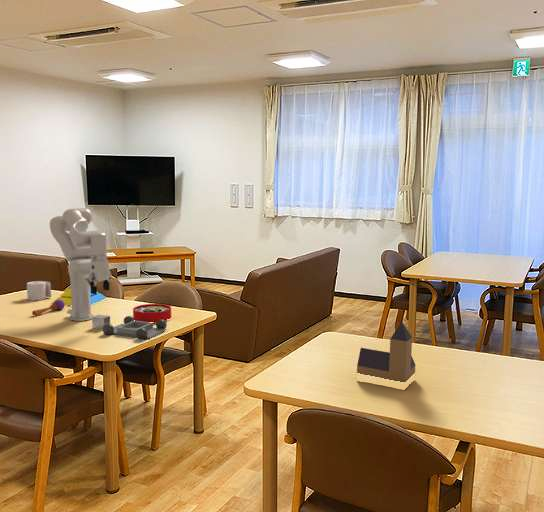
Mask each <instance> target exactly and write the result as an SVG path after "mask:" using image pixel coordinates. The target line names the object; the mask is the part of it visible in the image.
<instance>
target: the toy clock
mask: <svg viewBox="0 0 544 512" xmlns="http://www.w3.org/2000/svg"><path fill="white" fill-rule="evenodd" d="M132 317H133V318H134V320H135V321H142V322H157V321H159V320H167V319H170V318H171V319H172V307H171V305H168V304H164V303H163V304H162V303H148V304H147V303H146V304H145V303H144V304H140V305H137V306H134V307H133V308H132ZM171 319H170V320H171Z"/></svg>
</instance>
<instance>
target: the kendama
mask: <svg viewBox="0 0 544 512" xmlns="http://www.w3.org/2000/svg"><path fill="white" fill-rule="evenodd" d="M55 300H56V299H55ZM55 300H54V301H55ZM54 301H53V302H54ZM53 302H51V303H52V305H51V304H50V306H48V307H45V308H41V309H40V308H39V309H36V310H33V311H32V312H31V315H32V316H33V315H35V316H34V317H37V315H38V316H40V315H41V314H43V313H46V312H47V311H49V310H53V311H61V310H60V309H62V310H63V309H64V308H65V303H64V302H63V301H62V300H56V301H55V302H54V303H53Z"/></svg>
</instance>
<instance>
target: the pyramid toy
mask: <svg viewBox="0 0 544 512" xmlns="http://www.w3.org/2000/svg"><path fill="white" fill-rule="evenodd" d="M105 298H108V297H107V296H105V295H103V294H102V293H99V291H98V290H97V294H91V286H90V304H93V303H96V302H99V301H101V300H103V299H105ZM56 300H62V301H63V302H64V303H65V305H72V301H71V287H69V288H67V289H66V290H65V291H64V292H63V293H62V294H61V295H60V296H59V297H57V298H56V299H54V301H52V302H51V303H50V305H51V304H52V303H54V302H55V301H56ZM101 302H102V301H101ZM99 303H100V302H99ZM96 304H97V303H96ZM93 305H94V304H93Z"/></svg>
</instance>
